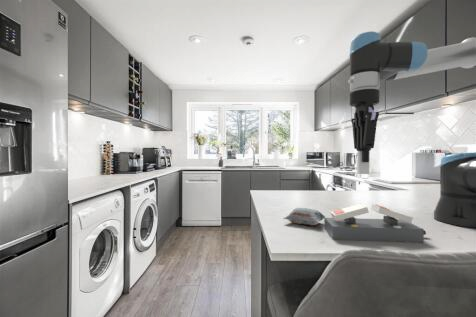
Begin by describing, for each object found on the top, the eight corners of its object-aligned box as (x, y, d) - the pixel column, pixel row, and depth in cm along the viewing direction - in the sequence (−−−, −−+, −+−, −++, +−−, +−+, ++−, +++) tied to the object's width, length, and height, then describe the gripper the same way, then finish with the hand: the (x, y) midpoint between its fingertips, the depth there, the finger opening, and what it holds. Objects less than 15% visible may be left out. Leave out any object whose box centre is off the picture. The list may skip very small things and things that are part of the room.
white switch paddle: (362, 208, 70) (360, 203, 70) (368, 212, 65) (366, 206, 65) (332, 216, 71) (330, 211, 71) (336, 221, 66) (334, 215, 66)
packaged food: (319, 230, 72) (319, 214, 72) (282, 224, 79) (282, 209, 79) (325, 223, 80) (325, 209, 80) (292, 218, 86) (292, 205, 86)
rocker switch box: (414, 231, 70) (414, 214, 70) (436, 242, 61) (436, 223, 61) (324, 228, 73) (324, 212, 73) (332, 239, 64) (332, 220, 64)
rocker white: (402, 218, 69) (404, 213, 68) (411, 223, 64) (413, 217, 64) (370, 209, 69) (372, 203, 69) (377, 212, 65) (379, 206, 65)
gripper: (342, 96, 74) (342, 171, 74) (359, 84, 61) (358, 175, 61) (368, 96, 73) (367, 172, 73) (390, 83, 60) (389, 176, 61)
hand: (363, 173), depth 67 cm, fingers closed
